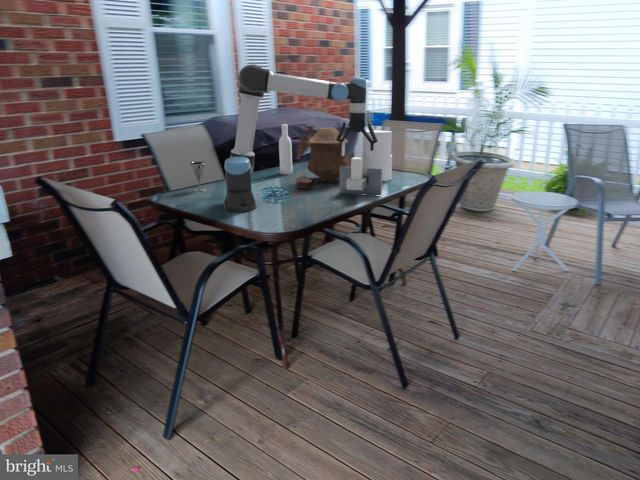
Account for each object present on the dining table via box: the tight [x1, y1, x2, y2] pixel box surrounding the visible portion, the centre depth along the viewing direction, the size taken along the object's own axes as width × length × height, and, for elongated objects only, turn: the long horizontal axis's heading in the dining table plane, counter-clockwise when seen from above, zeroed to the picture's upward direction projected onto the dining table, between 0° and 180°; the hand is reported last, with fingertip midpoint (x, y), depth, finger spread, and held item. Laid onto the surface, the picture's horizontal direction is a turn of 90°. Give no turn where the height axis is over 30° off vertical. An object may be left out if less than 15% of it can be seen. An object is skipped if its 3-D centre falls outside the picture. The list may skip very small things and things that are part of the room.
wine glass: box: [189, 160, 207, 193], centre depth 262 cm, size 8×8×15 cm
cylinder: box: [361, 129, 393, 181], centre depth 281 cm, size 17×17×28 cm
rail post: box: [350, 156, 363, 181], centre depth 240 cm, size 4×4×14 cm
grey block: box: [339, 166, 383, 196], centre depth 244 cm, size 12×22×14 cm, turn 70°
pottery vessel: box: [306, 127, 351, 181], centre depth 279 cm, size 26×26×30 cm
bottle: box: [278, 123, 294, 175], centre depth 299 cm, size 8×8×30 cm
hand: (356, 156), depth 237 cm, fingers open, 13 cm apart
